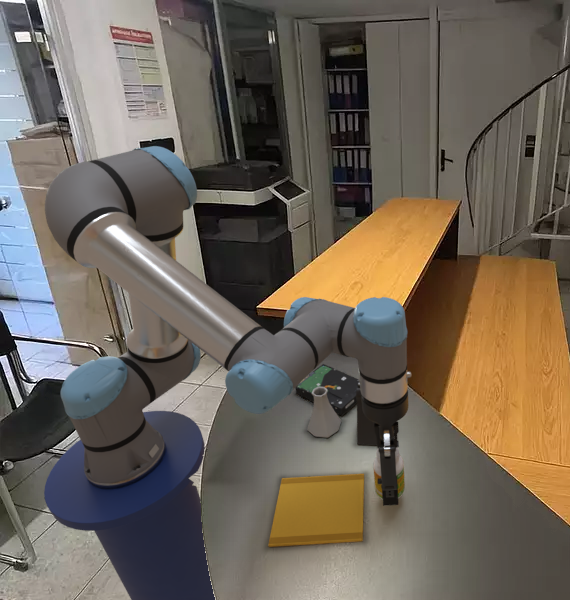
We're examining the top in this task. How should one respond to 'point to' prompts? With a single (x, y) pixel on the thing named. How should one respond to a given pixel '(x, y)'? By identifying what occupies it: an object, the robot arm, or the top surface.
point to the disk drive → (331, 387)
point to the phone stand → (364, 424)
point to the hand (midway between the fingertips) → (390, 488)
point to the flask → (323, 415)
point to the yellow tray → (319, 510)
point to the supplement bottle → (398, 473)
